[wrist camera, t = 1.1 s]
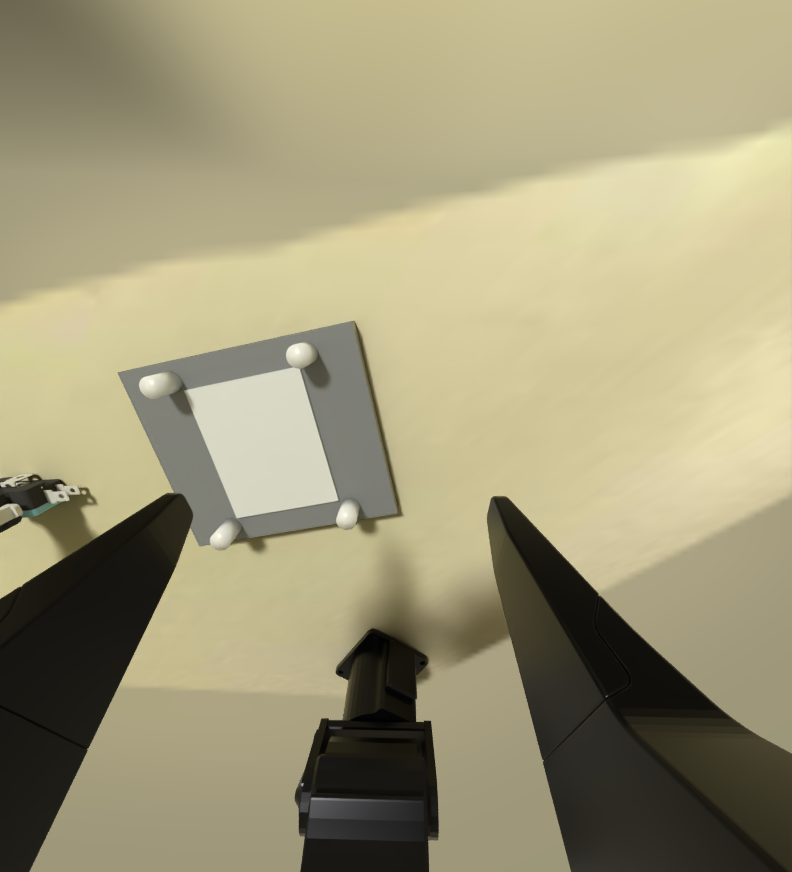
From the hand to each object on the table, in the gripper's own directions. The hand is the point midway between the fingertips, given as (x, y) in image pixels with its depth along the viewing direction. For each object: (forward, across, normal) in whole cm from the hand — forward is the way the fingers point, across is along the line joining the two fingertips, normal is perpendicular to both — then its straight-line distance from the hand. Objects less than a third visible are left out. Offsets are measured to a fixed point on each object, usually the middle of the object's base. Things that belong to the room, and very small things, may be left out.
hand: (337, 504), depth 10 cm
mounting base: (+13, +8, +8) cm, 17 cm away
